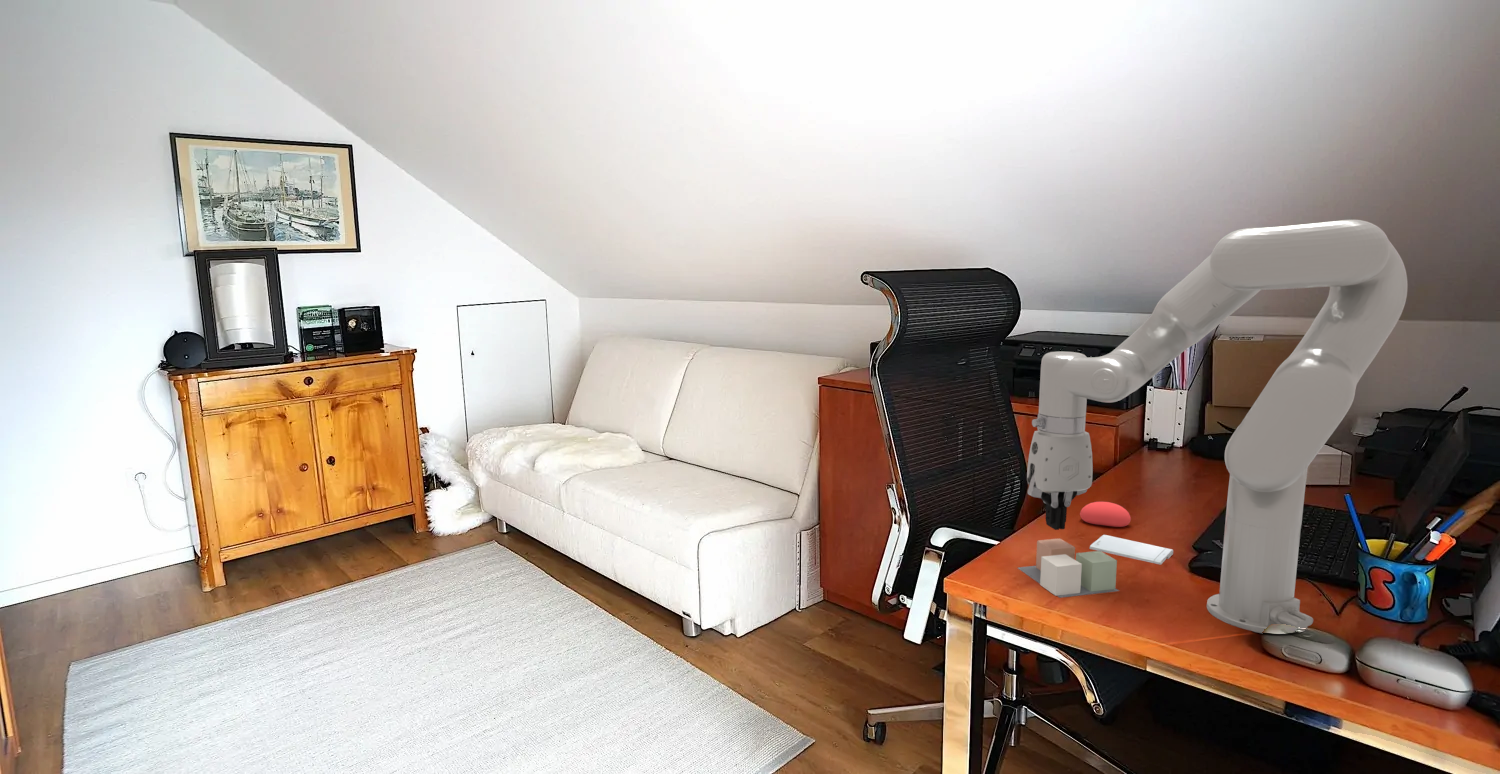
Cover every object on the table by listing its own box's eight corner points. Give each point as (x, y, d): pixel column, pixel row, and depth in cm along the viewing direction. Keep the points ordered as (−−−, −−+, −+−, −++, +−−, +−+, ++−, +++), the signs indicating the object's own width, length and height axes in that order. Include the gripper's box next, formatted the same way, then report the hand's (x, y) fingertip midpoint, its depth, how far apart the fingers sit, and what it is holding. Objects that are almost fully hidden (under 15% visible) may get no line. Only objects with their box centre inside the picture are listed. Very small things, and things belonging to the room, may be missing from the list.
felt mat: (1119, 593, 130) (1119, 590, 130) (1059, 599, 128) (1059, 597, 128) (1072, 563, 143) (1072, 561, 143) (1017, 569, 140) (1017, 567, 140)
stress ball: (1118, 539, 158) (1134, 512, 158) (1075, 516, 163) (1091, 490, 163) (1119, 540, 163) (1135, 514, 163) (1078, 517, 167) (1093, 491, 167)
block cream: (1080, 592, 129) (1081, 564, 129) (1055, 595, 128) (1056, 566, 128) (1064, 582, 134) (1065, 554, 133) (1040, 584, 133) (1041, 556, 132)
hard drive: (1089, 545, 149) (1161, 561, 141) (1104, 533, 155) (1173, 548, 147) (1088, 553, 149) (1160, 569, 141) (1103, 541, 155) (1173, 556, 147)
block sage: (1115, 589, 131) (1117, 560, 130) (1091, 591, 130) (1092, 562, 129) (1098, 578, 135) (1099, 550, 134) (1074, 581, 134) (1076, 553, 133)
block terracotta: (1073, 574, 137) (1075, 547, 136) (1050, 577, 136) (1051, 549, 135) (1058, 565, 141) (1059, 538, 140) (1035, 567, 140) (1037, 540, 139)
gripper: (1033, 431, 129) (1028, 538, 132) (1114, 426, 132) (1107, 531, 135) (1009, 422, 137) (1005, 523, 140) (1086, 417, 140) (1080, 517, 143)
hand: (1055, 526), depth 137 cm, fingers closed
